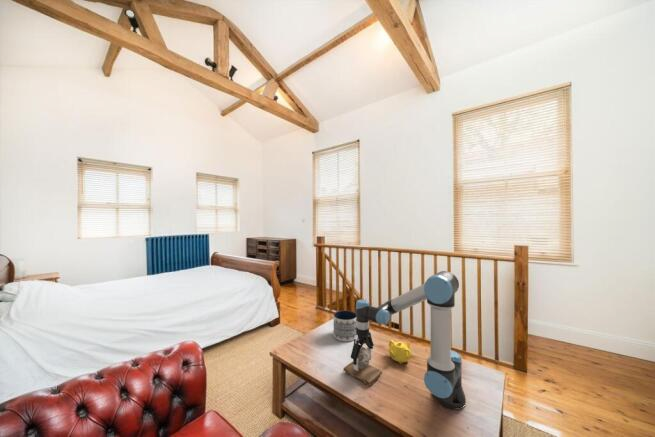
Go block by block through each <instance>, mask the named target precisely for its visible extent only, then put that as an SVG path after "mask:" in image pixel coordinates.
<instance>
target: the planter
mask: <svg viewBox="0 0 655 437" xmlns="http://www.w3.org/2000/svg"><path fill="white" fill-rule="evenodd" d="M333 337H334V339H336V340H338V341H340V342H347V343H348V342H352V341H353V342H354V339H357V338H358V336H357V334H356V312H354V311H351V310H338V311H335V312H334V313H333Z"/></svg>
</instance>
